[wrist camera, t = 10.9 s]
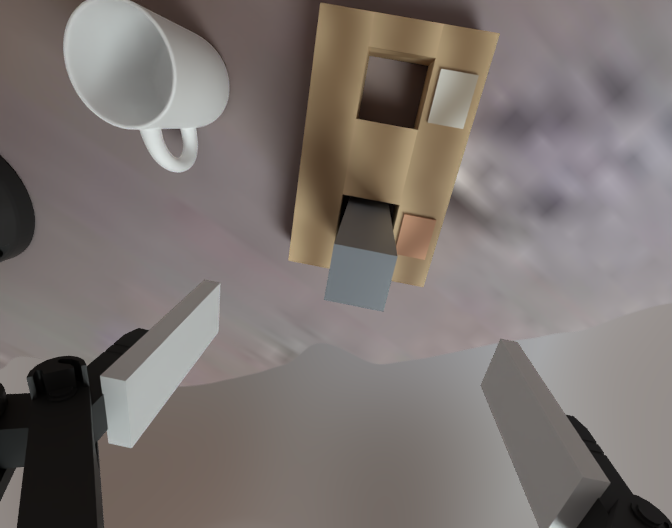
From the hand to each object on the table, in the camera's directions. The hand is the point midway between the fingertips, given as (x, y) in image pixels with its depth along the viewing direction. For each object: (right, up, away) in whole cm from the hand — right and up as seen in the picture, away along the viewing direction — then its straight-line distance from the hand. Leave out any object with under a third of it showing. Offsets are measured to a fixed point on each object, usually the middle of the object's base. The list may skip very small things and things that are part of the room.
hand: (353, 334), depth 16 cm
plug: (+2, +8, +21) cm, 22 cm away
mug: (-15, +19, +18) cm, 31 cm away
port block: (+3, +14, +18) cm, 23 cm away
